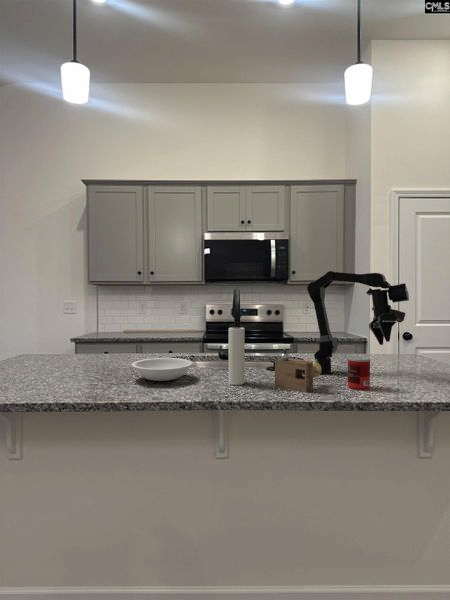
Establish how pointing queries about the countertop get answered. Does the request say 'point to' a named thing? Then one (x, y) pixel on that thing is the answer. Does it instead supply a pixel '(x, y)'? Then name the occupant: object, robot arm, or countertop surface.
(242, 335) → the paper towel roll
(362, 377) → the canned food
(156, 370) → the soup bowl
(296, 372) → the mount
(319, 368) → the knob
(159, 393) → the countertop surface
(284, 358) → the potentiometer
